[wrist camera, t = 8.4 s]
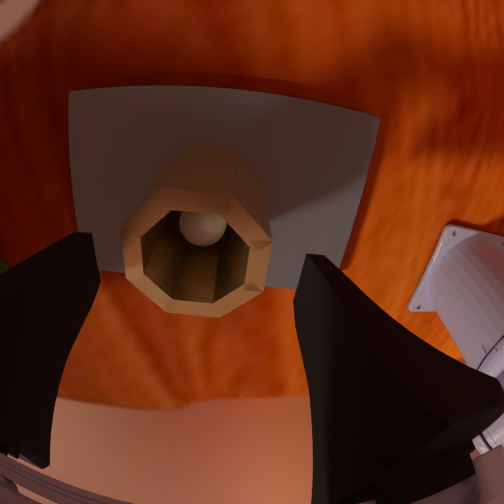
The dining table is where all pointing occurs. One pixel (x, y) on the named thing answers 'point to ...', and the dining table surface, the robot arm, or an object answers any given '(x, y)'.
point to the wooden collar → (193, 256)
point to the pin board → (228, 137)
